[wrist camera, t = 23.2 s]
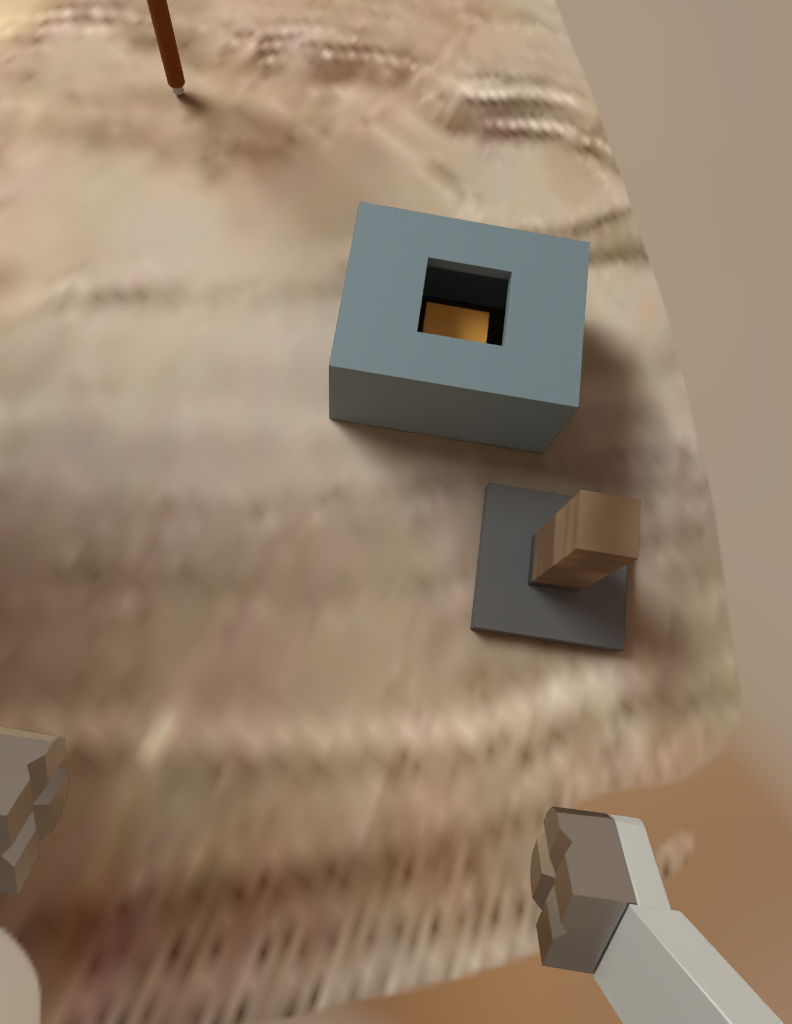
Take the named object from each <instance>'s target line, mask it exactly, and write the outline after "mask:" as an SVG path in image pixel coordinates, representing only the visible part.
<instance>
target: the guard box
mask: <svg viewBox="0 0 792 1024" xmlns="http://www.w3.org/2000/svg"><path fill="white" fill-rule="evenodd" d="M589 248H590V242H585V241H579V240H573V239H568V238H562V237H556V236H551V235H545V234H539V233H534V232H528V231H522V230H517V229H511V228H505V227H500V226H494V225H488V224H483V223H477V222H471V221H466V220H460V219H454V218H449V217H443V216H437V215H432V214H426V213H420V212H415V211H409V210H403V209H398V208H392V207H386V206H381V205H375V204H369V203H364V202H360V203H359V208H358V213H357V219H356V224H355V229H354V235H353V240H352V245H351V251H350V256H349V261H348V267H347V272H346V277H345V283H344V288H343V293H342V299H341V304H340V309H339V315H338V320H337V325H336V331H335V336H334V341H333V347H332V352H331V357H330V363H329V418H330V419H336V420H342V421H348V422H354V423H360V424H366V425H373V426H379V427H385V428H391V429H397V430H403V431H409V432H415V433H421V434H427V435H434V436H440V437H446V438H452V439H458V440H464V441H470V442H476V443H482V444H489V445H495V446H501V447H507V448H513V449H519V450H525V451H531V452H537V453H544V452H545V450H546V449H547V448H548V446H549V445H550V444H551V443H552V441H553V440H554V439H555V437H556V436H557V435H558V433H559V432H560V431H561V429H562V428H563V427H564V426H565V424H566V423H567V422H568V420H569V419H570V418H571V416H572V415H573V414H574V413H575V411H576V410H577V409H578V407H579V394H580V380H581V365H582V350H583V336H584V321H585V307H586V292H587V277H588V263H589ZM422 295H425V296H431V297H437V298H443V299H448V300H454V301H460V302H466V303H472V304H477V305H483V306H489V307H495V308H501V309H506V311H505V321H504V330H503V339H502V346H499V345H493V344H487V343H481V342H475V341H469V340H463V339H458V338H452V337H446V336H440V335H434V334H428V333H422V332H417V328H418V322H419V315H420V308H421V301H422Z"/></svg>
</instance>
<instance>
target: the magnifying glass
mask: <svg viewBox="0 0 792 1024" xmlns="http://www.w3.org/2000/svg"><path fill="white" fill-rule="evenodd" d="M147 3H148V7H149V10H150V14H151V18H152V22H153V26H154V30H155V34H156V38H157V42H158V46H159V50H160V54H161V58H162V62H163V66H164V69H165V73H166V77H167V81H168V84H169V86H170V87H172V88H173V92H174V93H175V94H177V95H181V94H182V93H183V92H184V90H183V85H184V83H185V80H184V76H183V71H182V67H181V62H180V58H179V54H178V49H177V45H176V40H175V36H174V32H173V27H172V23H171V18H170V14H169V10H168V5H167V1H166V0H147Z"/></svg>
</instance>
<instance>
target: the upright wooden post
mask: <svg viewBox="0 0 792 1024" xmlns="http://www.w3.org/2000/svg"><path fill="white" fill-rule="evenodd" d="M640 505H641V500H640V499H634V498H628V497H622V496H616V495H610V494H604V493H598V492H592V491H587V490H580V491H579V492H578V493H577V494H576V495H575V496H574V497H573V498H572V499H571V500H570V501H569V502H568V503H567V504H566V505H565V506H564V507H563V508H562V509H560V510H559V511H558V512H557V513H556V514H555V515H554V516H553V517H552V518H551V519H550V520H549V521H548V522H547V523H546V524H545V525H544V526H543V527H542V528H541V529H540V530H539V531H538V532H536V533H535V534H534V535H533V536H532V544H531V555H530V565H529V576H528V585H534V586H540V587H546V588H552V589H558V590H564V591H570V592H576V593H577V592H579V591H580V590H582V589H584V588H586V587H588V586H589V585H591V584H593V583H595V582H597V581H598V580H600V579H602V578H604V577H606V576H607V575H609V574H611V573H613V572H615V571H616V570H618V569H620V568H622V567H624V566H625V565H627V564H629V563H631V562H633V561H634V560H636V559H638V549H639V527H640Z"/></svg>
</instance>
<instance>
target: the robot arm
mask: <svg viewBox="0 0 792 1024" xmlns="http://www.w3.org/2000/svg"><path fill="white" fill-rule="evenodd" d="M65 754H66V747H65V739H64V738H62V737H58V736H53V735H47V734H41V733H35V732H29V731H23V730H17V729H12V728H6V727H0V893H5V894H14V895H18V894H19V892H20V890H21V888H22V886H23V885H24V883H25V881H26V879H27V877H28V876H29V874H30V872H31V870H32V868H33V866H34V865H35V863H36V861H37V859H38V857H39V852H38V842H37V841H39V840H41V839H42V838H44V837H45V836H47V835H48V834H50V833H51V832H52V831H53V829H54V827H55V826H56V824H57V822H58V820H59V818H60V816H61V813H62V810H63V807H64V804H65V801H66V798H67V791H68V772H67V771H66V770H65V769H64V768H63V767H62V765H61V764H60V763H61V761H62V760H63V758H64V756H65ZM544 828H545V834H544V835H542V836H541V837H539V838H538V839H537V840H536V843H535V846H534V849H533V852H532V859H531V867H530V879H531V890H532V898H533V899H534V901H535V902H536V903H537V905H538V906H539V907H540V909H541V910H542V911H541V914H540V916H539V919H538V921H537V924H536V927H537V934H538V941H539V948H540V954H541V961H542V966H548V967H554V968H560V969H566V970H572V971H578V972H584V973H591V974H594V976H593V977H594V979H595V980H596V982H597V983H598V985H599V987H600V988H601V990H602V991H603V993H604V994H605V996H606V998H607V999H608V1001H609V1002H610V1004H611V1005H612V1007H613V1009H614V1010H615V1012H616V1013H617V1015H618V1016H619V1018H620V1019H621V1021H622V1022H623V1024H784V1023H783V1022H782V1021H781V1020H780V1019H779V1018H778V1017H777V1016H776V1015H775V1013H774V1012H773V1011H772V1010H771V1009H770V1008H769V1007H768V1006H767V1005H766V1004H765V1003H764V1002H763V1001H762V999H760V997H759V996H758V995H757V994H756V993H755V992H754V991H753V990H752V989H751V987H750V986H749V985H748V984H747V983H746V982H745V981H744V980H743V979H742V978H741V977H740V975H739V974H738V973H737V972H736V971H735V970H734V969H733V968H732V967H731V966H730V965H729V963H728V962H726V960H725V959H724V958H723V957H722V956H721V955H720V954H719V953H718V952H717V951H716V949H715V948H714V947H713V946H712V945H711V944H710V943H709V942H708V941H707V940H706V938H705V937H704V936H703V935H702V934H701V933H700V932H699V931H698V930H697V929H696V928H695V927H694V925H693V924H692V923H691V922H690V921H689V920H688V919H687V918H686V917H685V916H684V915H683V913H682V912H681V911H675V910H672V909H671V906H670V903H669V900H668V897H667V894H666V891H665V888H664V885H663V881H662V878H661V875H660V872H659V869H658V866H657V863H656V860H655V857H654V854H653V851H652V848H651V845H650V842H649V838H648V835H647V832H646V829H645V826H644V824H643V823H642V821H641V820H640V819H638V818H630V817H624V816H617V815H608V814H605V813H597V812H589V811H582V810H575V809H567V808H559V807H551V808H550V809H549V810H548V811H547V814H546V816H545V819H544Z"/></svg>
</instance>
